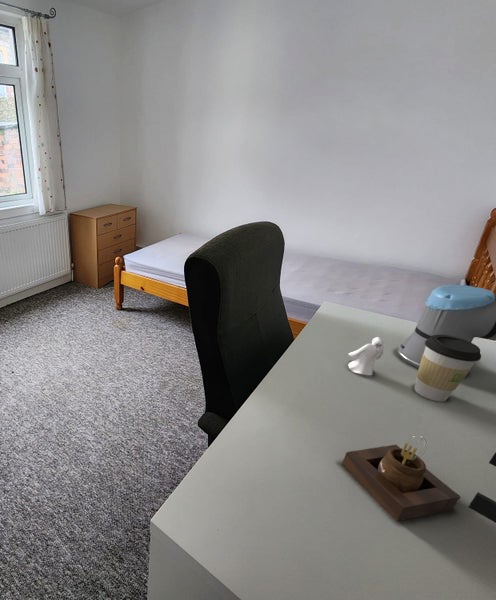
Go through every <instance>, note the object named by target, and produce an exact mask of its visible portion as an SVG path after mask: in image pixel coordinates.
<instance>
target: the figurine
mask: <svg viewBox="0 0 496 600" xmlns="http://www.w3.org/2000/svg"><path fill="white" fill-rule="evenodd" d="M383 344H384V341H383V339H382V337H379V336H375V337H374V338H372V340H371V343H366V344H364V345H363V346H362V347H360V348H358V349H357V350H354V351H350V352H349V353H347V356H349V357H351V358H357V357H358V358H357V359H356V360H352V361H350V362H349V363H348V364H347V367H348V369H350V371H351V372H353V373H355V374H360V375H364V376H374V374H373V371H374V365H375V361H376V360H380V359H381V358H382V356H383V354H384V351H385V347H384V345H383Z"/></svg>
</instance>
